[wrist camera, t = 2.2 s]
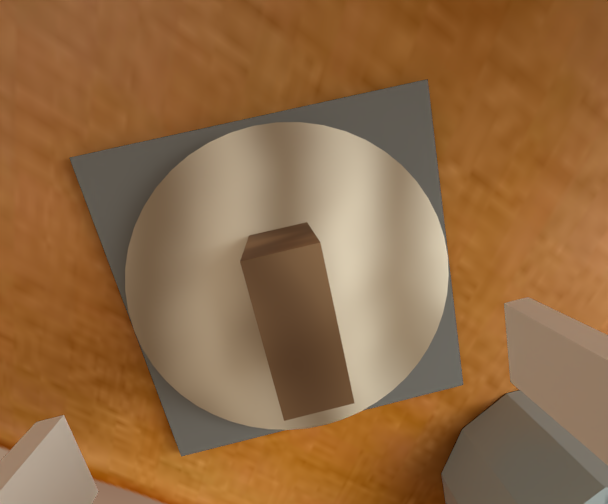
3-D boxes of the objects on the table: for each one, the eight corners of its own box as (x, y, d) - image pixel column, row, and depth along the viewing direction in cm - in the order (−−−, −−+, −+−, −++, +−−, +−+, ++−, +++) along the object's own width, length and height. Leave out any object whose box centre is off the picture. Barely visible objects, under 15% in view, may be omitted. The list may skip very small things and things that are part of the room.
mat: (422, 82, 18) (427, 79, 17) (458, 379, 22) (463, 384, 22) (76, 158, 17) (69, 157, 17) (183, 448, 22) (181, 456, 21)
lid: (419, 91, 17) (493, 53, 12) (454, 379, 22) (522, 457, 16) (83, 166, 17) (-17, 164, 11) (187, 447, 21) (155, 553, 15)
